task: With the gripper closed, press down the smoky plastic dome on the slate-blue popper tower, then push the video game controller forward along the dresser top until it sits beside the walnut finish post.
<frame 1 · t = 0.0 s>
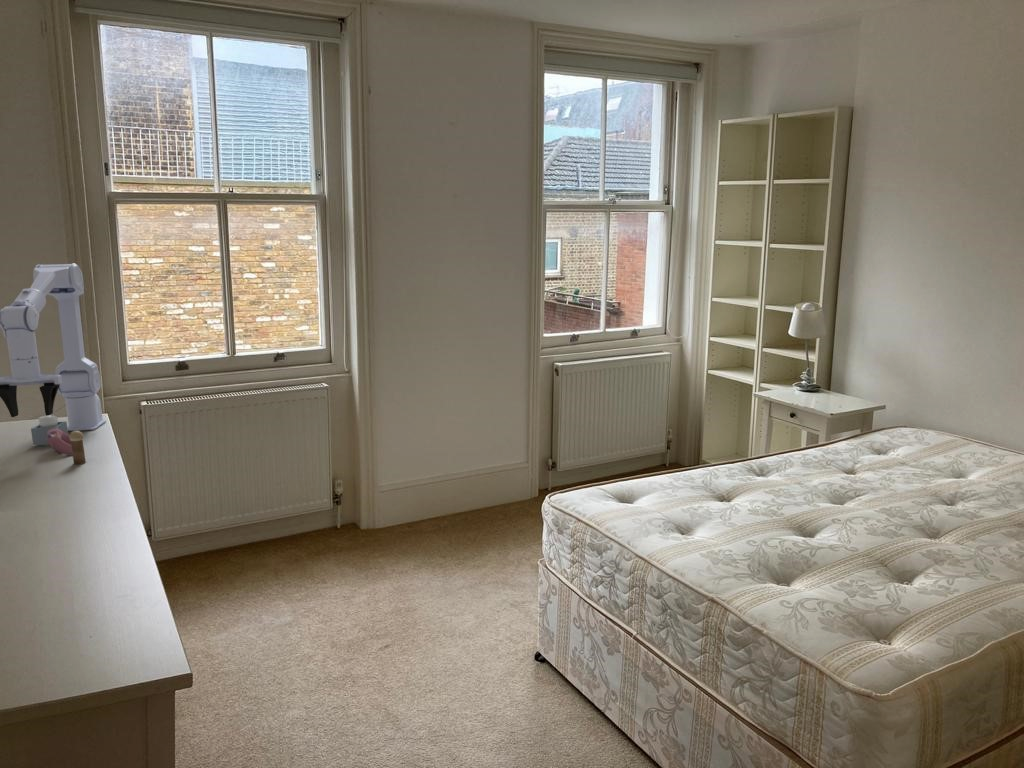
hand: (32, 415, 192), 10 cm above the dresser, tool pointing down, fingers open, 7 cm apart
dome: (48, 423, 206), point 5 cm above the dresser, slide at 0.0 cm
video game controller: (63, 452, 199), on the dresser
popper tower: (51, 442, 207), on the dresser
finish post: (79, 462, 189), on the dresser
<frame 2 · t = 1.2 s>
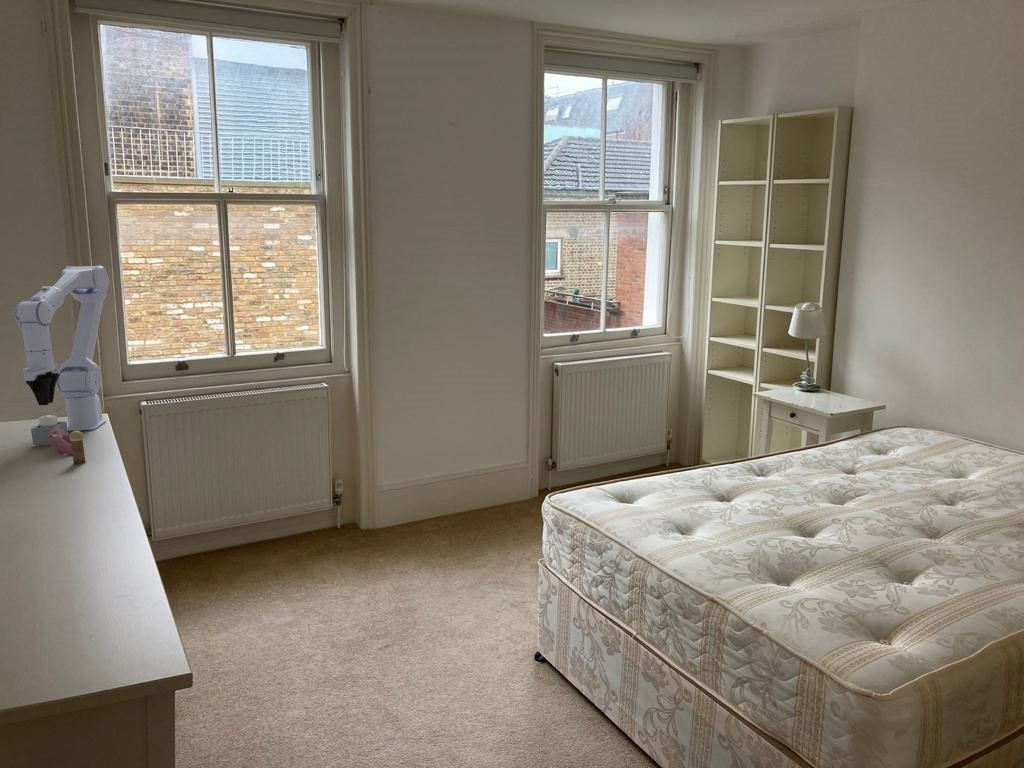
hand: (46, 403, 205), 10 cm above the dresser, tool pointing down, fingers closed
nothing on the dresser moved.
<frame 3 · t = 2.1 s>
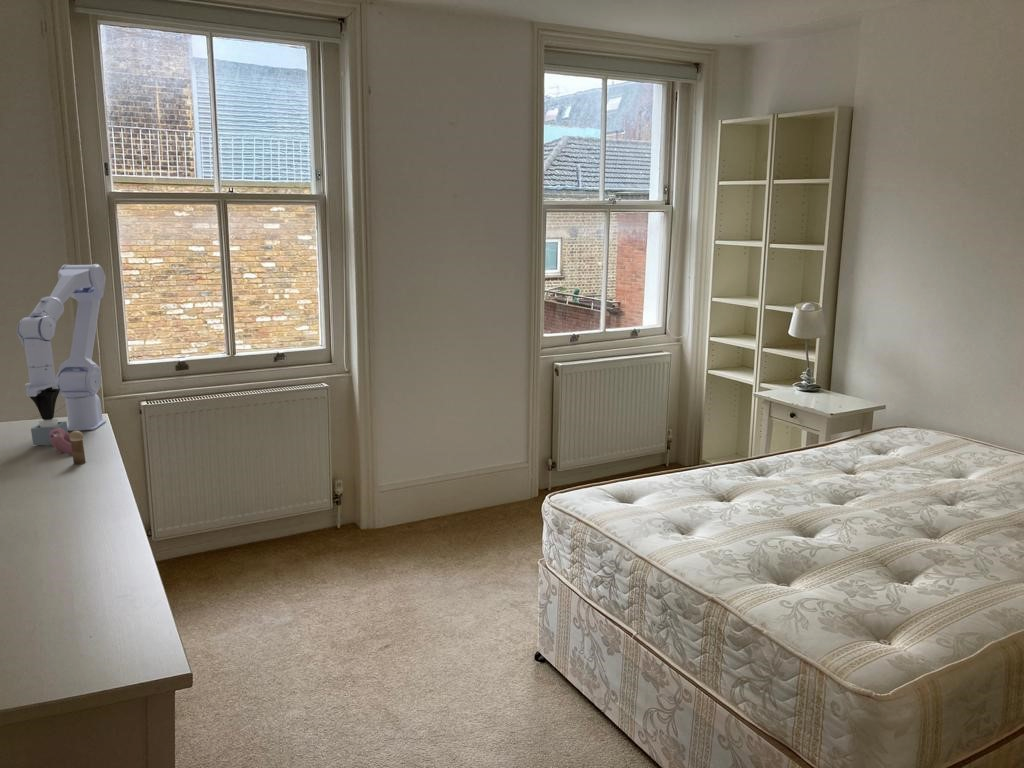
hand: (48, 419, 206), 6 cm above the dresser, tool pointing down, fingers closed, pressing on dome
dome: (49, 426, 207), point 4 cm above the dresser, slide at 0.9 cm, touching gripper
everything else where it was.
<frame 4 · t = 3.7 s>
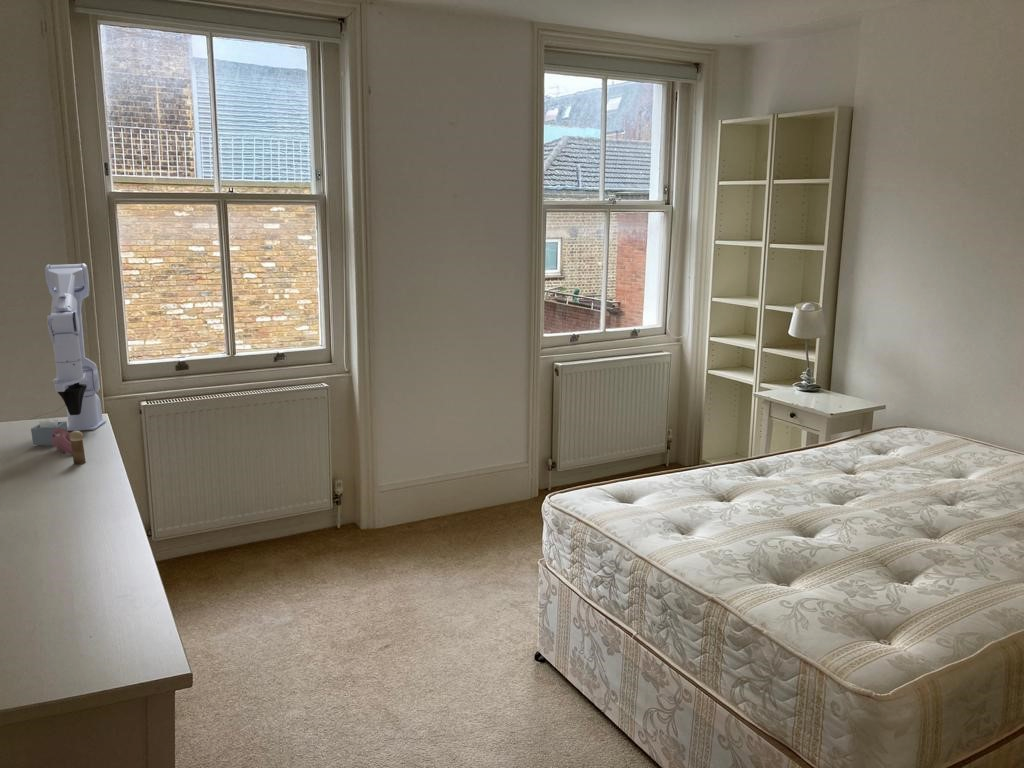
hand: (75, 414, 206), 7 cm above the dresser, tool pointing down, fingers closed
dome: (49, 427, 207), point 4 cm above the dresser, slide at 1.1 cm
everything else where it was.
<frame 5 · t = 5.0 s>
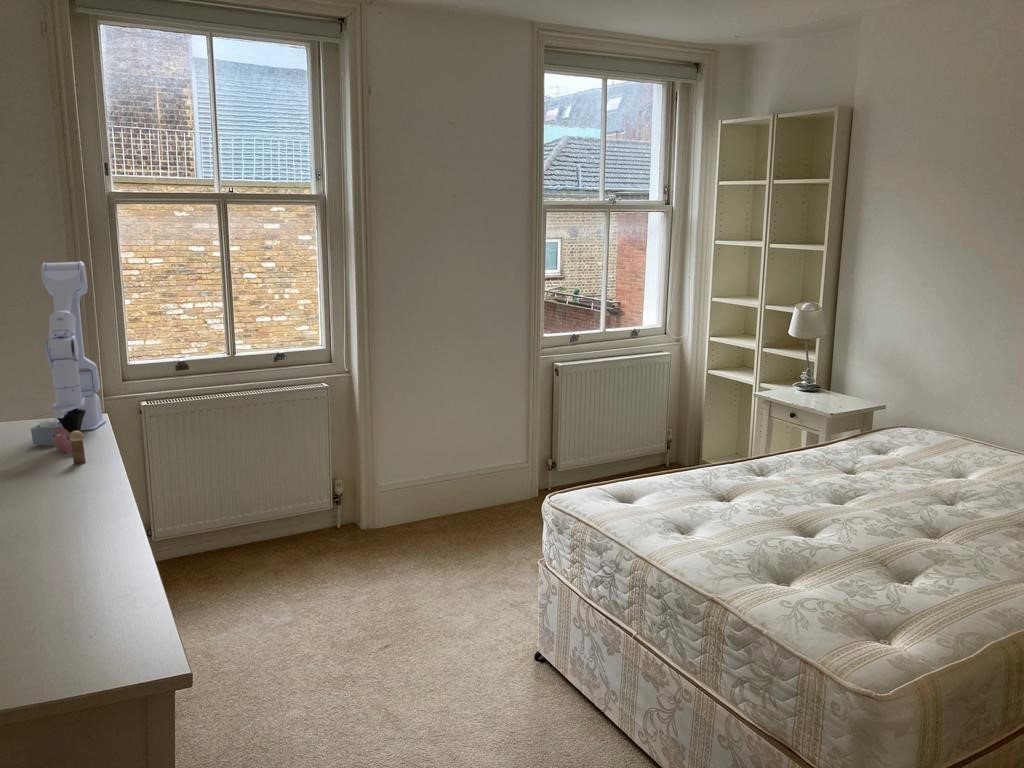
hand: (74, 439, 204), 1 cm above the dresser, tool pointing down, fingers closed
video game controller: (68, 452, 199), on the dresser, touching gripper
everything else where it was.
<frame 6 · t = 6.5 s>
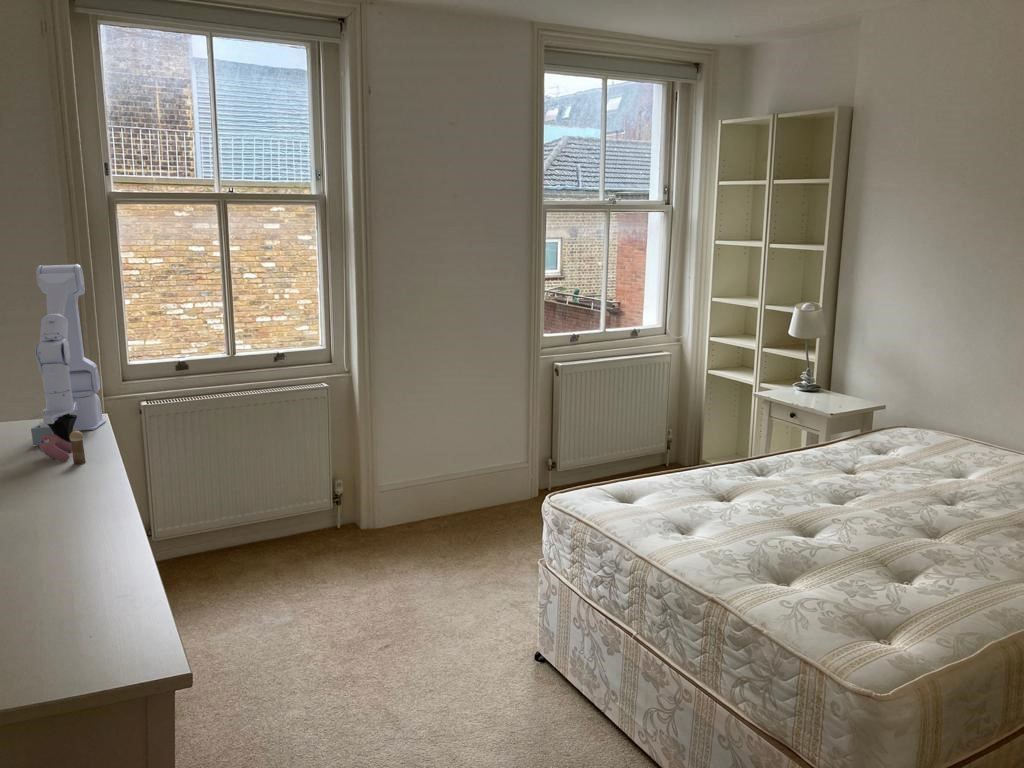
hand: (65, 445, 199), 1 cm above the dresser, tool pointing down, fingers closed
video game controller: (57, 458, 194), on the dresser, touching gripper
everything else where it was.
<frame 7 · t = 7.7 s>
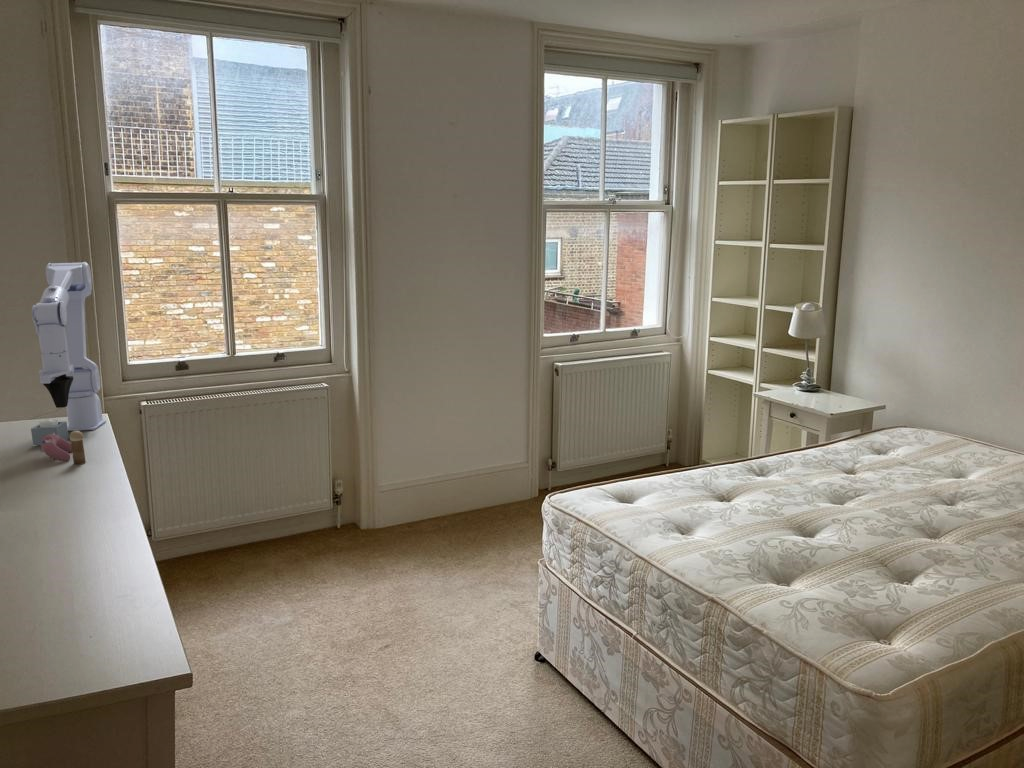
hand: (61, 407, 202), 10 cm above the dresser, tool pointing down, fingers closed
video game controller: (59, 458, 194), on the dresser
everything else where it was.
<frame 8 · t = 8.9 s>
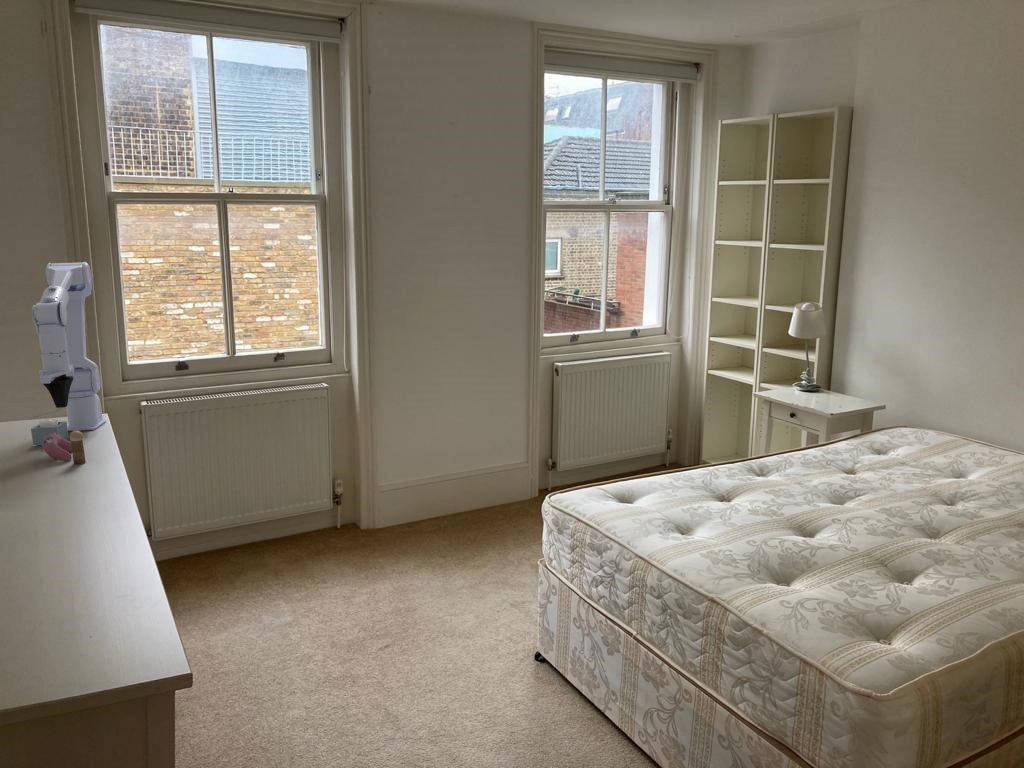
hand: (61, 407, 202), 10 cm above the dresser, tool pointing down, fingers closed
nothing on the dresser moved.
at the end: dome slide at 1.1 cm; video game controller inside the target area (1.1 cm from its centre), on the dresser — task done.
